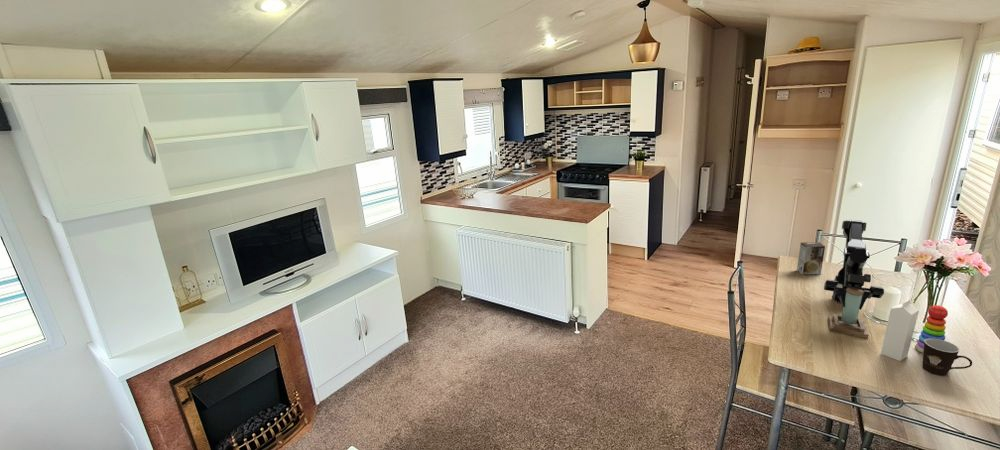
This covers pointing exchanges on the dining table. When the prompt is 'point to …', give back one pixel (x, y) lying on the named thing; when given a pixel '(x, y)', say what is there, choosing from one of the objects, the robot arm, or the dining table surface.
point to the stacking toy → (933, 326)
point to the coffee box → (810, 258)
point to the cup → (852, 305)
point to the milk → (899, 331)
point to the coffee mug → (940, 356)
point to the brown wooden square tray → (847, 326)
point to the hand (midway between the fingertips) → (852, 308)
